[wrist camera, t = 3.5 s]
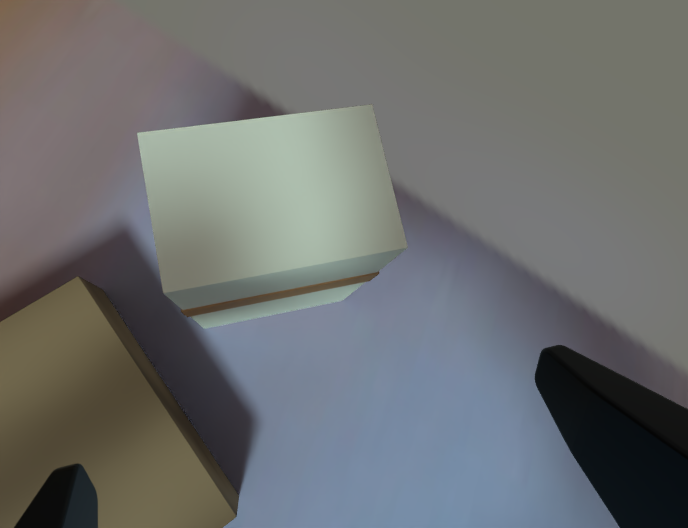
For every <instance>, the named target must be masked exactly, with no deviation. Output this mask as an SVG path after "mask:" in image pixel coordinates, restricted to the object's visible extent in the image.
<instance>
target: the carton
mask: <svg viewBox="0 0 688 528" xmlns="http://www.w3.org/2000/svg"><path fill="white" fill-rule="evenodd" d="M137 135H138V141H139V148H140V154H141V160H142V166H143V172H144V178H145V184H146V191H147V197H148V203H149V209H150V215H151V221H152V227H153V234H154V240H155V246H156V252H157V258H158V264H159V270H160V276H161V283H162V289H163V294H165V295H166V296H167V297H168V298H169V299H170V300H172V301H173V302H174V303H175V304H176V305H177V306H178V307H180V308H181V312H182V313H183V314H184V315H185V316H187V317H191V318H192V319H194V320H195V321H196V322H197V323H198V324H199V325H200V326H202V327H203V328H204V329H206V328H211V327H216V326H221V325H226V324H231V323H235V322H240V321H245V320H250V319H255V318H260V317H265V316H270V315H275V314H280V313H285V312H289V311H294V310H299V309H304V308H309V307H314V306H319V305H324V304H329V303H334V302H339V301H343V300H344V299H345V298H346V297H348V296H349V295H350V294H351V293H353V292H354V291H355V290H356V289H357V288H359V287H360V286H361V285H362V284H364V283H365V282H367V281H370V280H372V279H373V278H374V277H376V276H377V275H378V274H379V271H380V270H381V269H382V268H383V267H385V266H386V265H387V264H388V263H390V262H391V261H392V260H393V259H394V258H396V257H397V256H398V255H399V254H401V253H402V252H403V251H404V250H406V249H407V248H408V246H407V242H406V238H405V234H404V230H403V226H402V222H401V218H400V214H399V210H398V206H397V202H396V198H395V194H394V190H393V186H392V182H391V178H390V174H389V170H388V166H387V162H386V158H385V154H384V150H383V146H382V142H381V138H380V134H379V130H378V126H377V122H376V118H375V113H374V110H373V105H372V104H371V105H362V106H354V107H346V108H338V109H329V110H321V111H313V112H305V113H297V114H288V115H280V116H272V117H264V118H256V119H248V120H239V121H231V122H223V123H215V124H207V125H199V126H190V127H182V128H174V129H166V130H158V131H150V132H141V133H137Z"/></svg>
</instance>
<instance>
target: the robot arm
mask: <svg viewBox="0 0 688 528" xmlns="http://www.w3.org/2000/svg"><path fill="white" fill-rule="evenodd" d="M535 383H536V386H537V388H538V390H539V392H540V394H541V396H542V398H543V400H544V402H545V404H546V406H547V407H548V409H549V411H550V413H551V415H552V417H553V419H554V421H555V423H556V425H557V427H558V429H559V431H560V433H561V434H562V436H563V438H564V440H565V442H566V444H567V446H568V447H569V449H570V451H571V453H572V454H573V456H574V458H575V459H576V461H577V462H578V464H579V465H580V467H581V468H582V470H583V472H584V473H585V475H586V476H587V478H588V479H589V481H590V482H591V484H592V485H593V487H594V488H595V490H596V491H597V493H598V494H599V496H600V498H601V499H602V501H603V502H604V504H605V505H606V507H607V508H608V510H609V511H610V513H611V514H612V516H613V517H614V519H615V520H616V522H617V524H618V525H619V527H620V528H688V409H687V408H685V407H683V406H681V405H679V404H677V403H675V402H673V401H671V400H669V399H667V398H665V397H663V396H661V395H659V394H657V393H655V392H653V391H651V390H649V389H647V388H646V387H644V386H642V385H640V384H638V383H636V382H634V381H632V380H630V379H628V378H626V377H624V376H622V375H620V374H618V373H616V372H614V371H612V370H610V369H608V368H606V367H605V366H603V365H601V364H599V363H597V362H595V361H593V360H591V359H589V358H587V357H585V356H583V355H581V354H579V353H577V352H575V351H573V350H571V349H569V348H567V347H565V346H562V345H556V346H552V347H548V348H545V349H543V350H542V351H541V353H540V357H539V361H538V365H537V368H536V372H535ZM14 528H98V498H97V492H96V489H95V487H94V485H93V483H92V482H91V480H90V478H89V476H88V474H87V472H86V471H85V469H84V467H83V466H82V465H81V464H79V463H75V464H71V465H67V466H63V467H59V468H56V469H55V470H54V471H52V472H51V474H50V475H49V477H48V478H47V479H46V481H45V482H44V484H43V485H42V487H41V488H40V490H39V491H38V493H37V494H36V496H35V497H34V499H33V500H32V501H31V503H30V504H29V506H28V507H27V509H26V510H25V512H24V513H23V515H22V516H21V518H20V519H19V521H18V522H17V523H16V525H15V526H14Z"/></svg>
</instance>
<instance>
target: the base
mask: <svg viewBox="0 0 688 528" xmlns="http://www.w3.org/2000/svg"><path fill="white" fill-rule="evenodd" d="M75 463H79V464H81V465H82V466H83V467H84V469H85V471H86V472H87V474H88V476H89V478H90V480H91V482H92V483H93V485H94V487H95V489H96V492H97V498H98V528H223V527H224V526H225V525H226V524H228V523H229V522H230V521H232V520H233V519H234V518H235V517H236V516H237V508H238V500H239V495H238V494H237V492H236V491H235V489H234V488H233V486H232V485H231V483H230V482H229V480H228V479H227V477H226V476H225V474H224V473H223V471H222V470H221V468H220V467H219V465H218V464H217V462H216V460H215V459H214V457H213V456H212V454H211V453H210V451H209V450H208V448H207V447H206V445H205V444H204V442H203V441H202V439H201V438H200V436H199V435H198V433H197V432H196V430H195V429H194V427H193V426H192V424H191V423H190V421H189V420H188V418H187V417H186V415H185V414H184V412H183V411H182V409H181V408H180V406H179V405H178V403H177V402H176V400H175V398H174V397H173V395H172V394H171V392H170V391H169V389H168V388H167V386H166V385H165V383H164V382H163V380H162V379H161V377H160V376H159V374H158V373H157V371H156V370H155V368H154V367H153V365H152V364H151V362H150V361H149V359H148V358H147V356H146V355H145V353H144V352H143V350H142V349H141V347H140V346H139V344H138V343H137V341H136V340H135V338H134V336H133V335H132V333H131V332H130V330H129V329H128V327H127V326H126V324H125V323H124V321H123V320H122V318H121V317H120V315H119V314H118V312H117V311H116V309H115V308H114V306H113V305H112V303H111V302H110V300H109V299H108V297H107V296H106V294H105V293H104V291H103V290H102V289H101V288H99V287H97V286H95V285H93V284H91V283H90V282H88V281H86V280H84V279H82V278H80V277H79V276H78V277H76V278H74V279H73V280H71V281H69V282H67V283H66V284H64V285H62V286H61V287H59V288H57V289H56V290H54V291H52V292H50V293H49V294H47V295H45V296H44V297H42V298H40V299H39V300H37V301H35V302H33V303H32V304H30V305H28V306H27V307H25V308H23V309H22V310H20V311H18V312H16V313H15V314H13V315H11V316H10V317H8V318H6V319H4V320H3V321H1V322H0V528H14V526H15V525H16V523H17V522H18V521H19V519H20V518H21V516H22V515H23V513H24V512H25V510H26V509H27V507H28V506H29V504H30V503H31V501H32V500H33V499H34V497H35V496H36V494H37V493H38V491H39V490H40V488H41V487H42V485H43V484H44V482H45V481H46V479H47V478H48V477H49V475H50V474H51V472H52V471H54V470H55V469H56V468H59V467H63V466H67V465H71V464H75Z"/></svg>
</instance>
